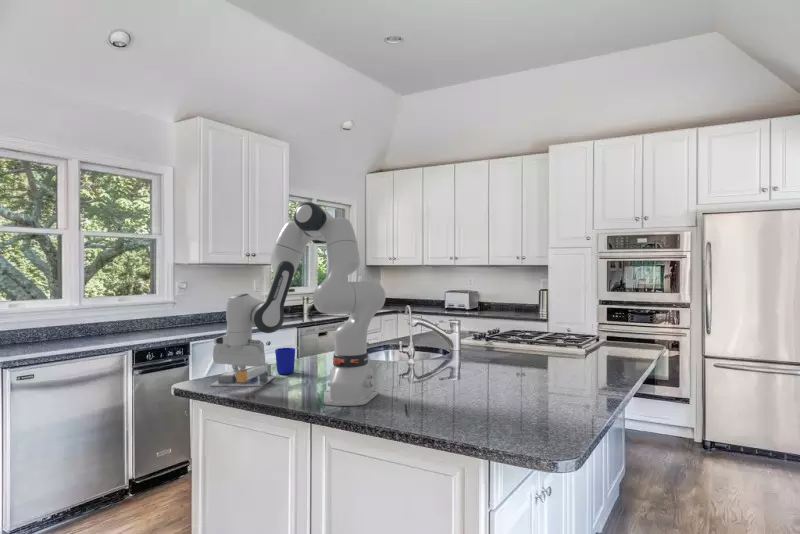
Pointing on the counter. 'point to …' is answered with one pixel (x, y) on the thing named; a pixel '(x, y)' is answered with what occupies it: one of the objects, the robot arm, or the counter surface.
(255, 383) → the chassis plate
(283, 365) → the mug
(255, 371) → the swing arm
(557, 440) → the counter surface
